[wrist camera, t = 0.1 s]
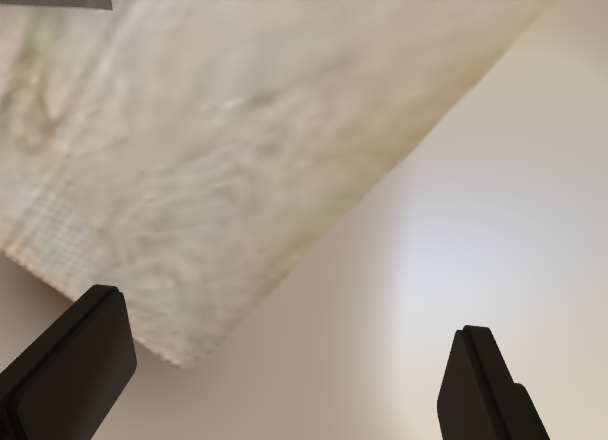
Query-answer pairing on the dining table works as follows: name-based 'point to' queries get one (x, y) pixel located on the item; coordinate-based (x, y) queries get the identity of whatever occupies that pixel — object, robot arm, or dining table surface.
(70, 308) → the robot arm
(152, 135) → the dining table surface
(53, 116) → the dining table surface
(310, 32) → the dining table surface
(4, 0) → the housing
